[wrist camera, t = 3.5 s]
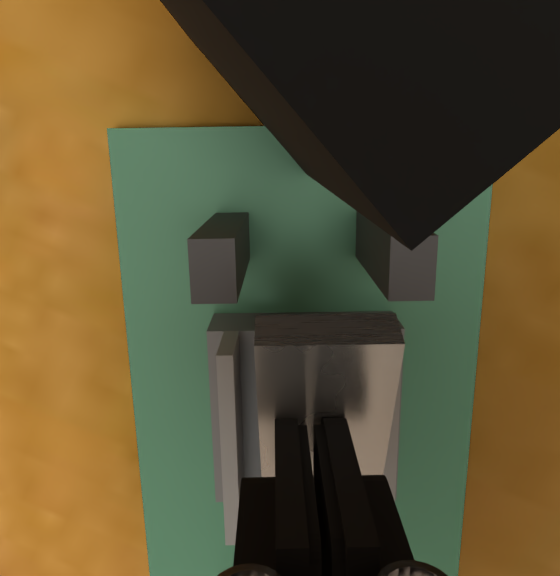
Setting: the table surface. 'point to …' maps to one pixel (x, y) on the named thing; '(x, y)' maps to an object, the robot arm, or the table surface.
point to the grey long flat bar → (329, 378)
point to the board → (277, 282)
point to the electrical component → (391, 93)
